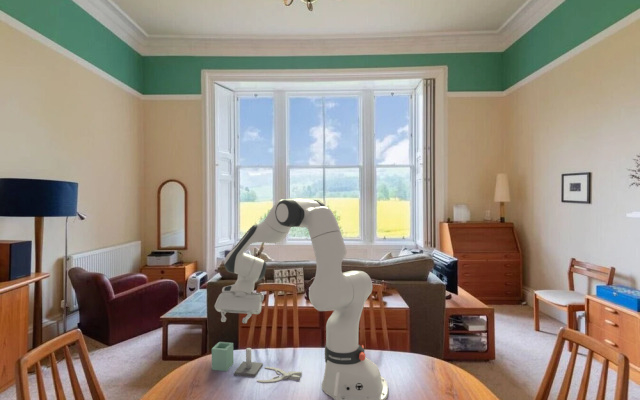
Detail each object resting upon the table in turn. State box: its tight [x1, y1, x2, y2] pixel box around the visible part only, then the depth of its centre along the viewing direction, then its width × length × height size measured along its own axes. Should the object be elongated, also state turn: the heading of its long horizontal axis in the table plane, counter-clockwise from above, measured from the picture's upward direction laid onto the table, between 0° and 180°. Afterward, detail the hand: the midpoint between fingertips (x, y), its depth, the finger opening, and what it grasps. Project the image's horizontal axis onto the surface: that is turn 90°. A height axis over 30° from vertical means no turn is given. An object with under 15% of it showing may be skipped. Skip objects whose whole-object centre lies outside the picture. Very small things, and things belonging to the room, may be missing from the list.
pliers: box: [256, 366, 303, 384], centre depth 120 cm, size 10×2×15 cm
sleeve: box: [211, 341, 234, 372], centre depth 127 cm, size 6×6×8 cm
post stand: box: [234, 347, 264, 378], centre depth 124 cm, size 8×8×8 cm
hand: (233, 322), depth 138 cm, fingers open, 8 cm apart
